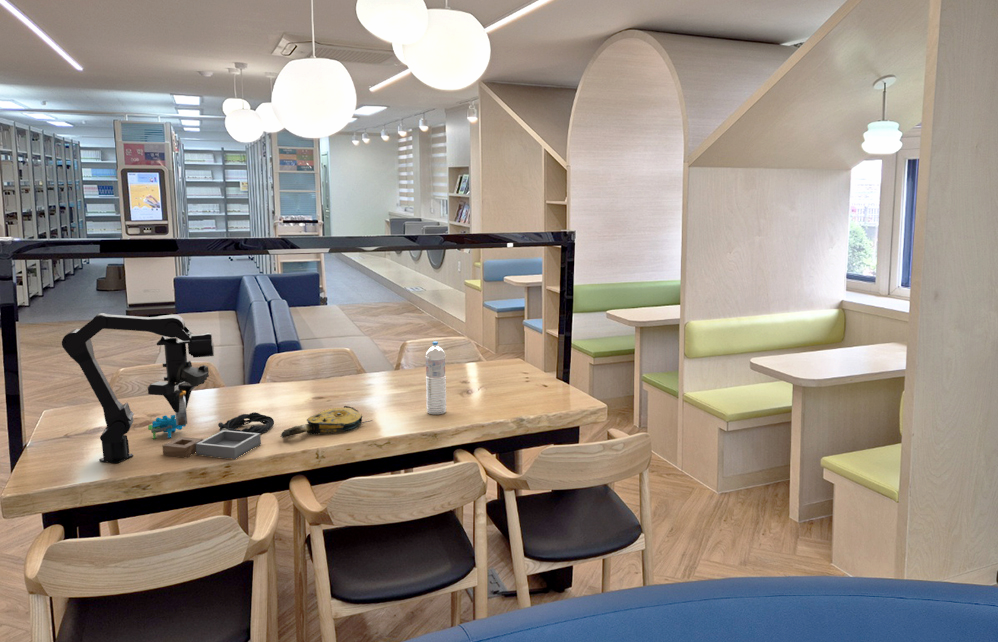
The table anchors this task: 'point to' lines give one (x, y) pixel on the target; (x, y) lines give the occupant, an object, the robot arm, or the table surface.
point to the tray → (228, 444)
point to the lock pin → (181, 409)
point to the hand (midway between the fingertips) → (180, 410)
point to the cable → (252, 417)
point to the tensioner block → (181, 447)
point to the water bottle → (435, 380)
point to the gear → (164, 425)
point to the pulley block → (329, 422)
